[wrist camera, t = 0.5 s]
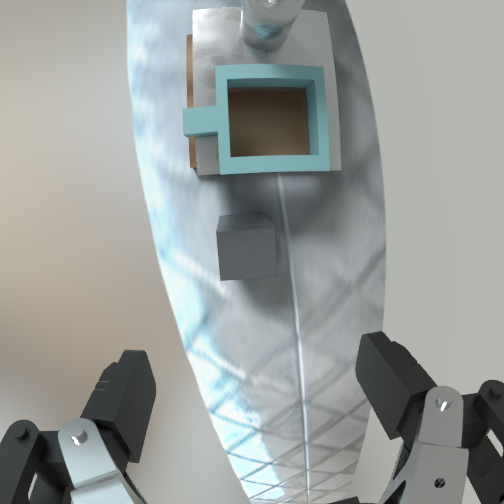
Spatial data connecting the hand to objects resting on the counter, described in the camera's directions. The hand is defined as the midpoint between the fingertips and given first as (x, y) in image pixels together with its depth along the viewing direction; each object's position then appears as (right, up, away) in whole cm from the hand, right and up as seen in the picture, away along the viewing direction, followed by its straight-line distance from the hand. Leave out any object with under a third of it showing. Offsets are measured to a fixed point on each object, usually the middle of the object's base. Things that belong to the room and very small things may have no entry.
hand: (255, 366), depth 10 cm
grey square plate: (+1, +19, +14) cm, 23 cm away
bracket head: (0, +15, +11) cm, 18 cm away
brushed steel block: (-1, +6, +19) cm, 20 cm away
